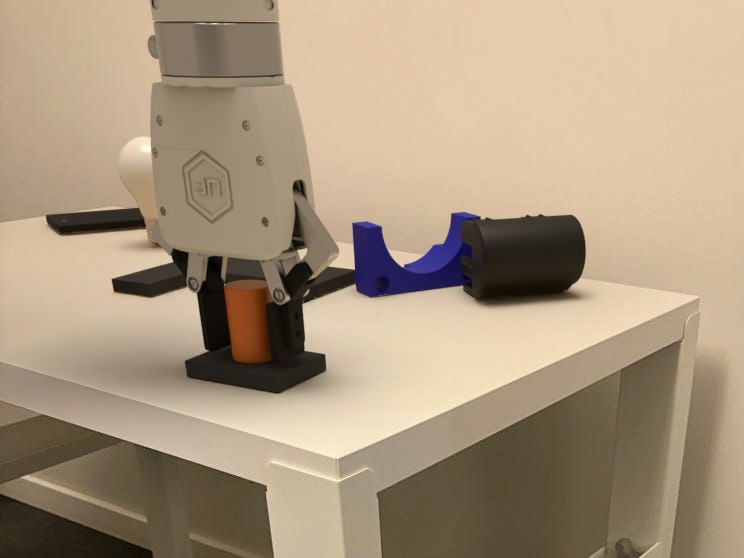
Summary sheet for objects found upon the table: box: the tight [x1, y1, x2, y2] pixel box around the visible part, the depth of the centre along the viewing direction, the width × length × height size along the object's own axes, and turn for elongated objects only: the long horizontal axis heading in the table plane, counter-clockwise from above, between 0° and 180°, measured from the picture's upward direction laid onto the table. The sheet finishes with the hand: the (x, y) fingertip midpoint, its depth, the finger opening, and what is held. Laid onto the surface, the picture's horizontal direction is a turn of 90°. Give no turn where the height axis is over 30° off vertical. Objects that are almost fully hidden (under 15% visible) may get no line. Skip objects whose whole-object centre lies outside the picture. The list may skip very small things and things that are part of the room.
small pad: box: [184, 280, 327, 394], centre depth 70 cm, size 8×6×6 cm
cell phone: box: [45, 207, 146, 234], centre depth 122 cm, size 9×18×1 cm, turn 121°
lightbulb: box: [117, 135, 161, 247], centre depth 107 cm, size 6×6×11 cm
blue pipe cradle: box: [351, 211, 482, 298], centre depth 94 cm, size 12×4×6 cm, turn 122°
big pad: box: [111, 257, 356, 303], centre depth 94 cm, size 18×14×1 cm
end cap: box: [460, 213, 587, 300], centre depth 90 cm, size 10×7×7 cm
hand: (254, 349), depth 70 cm, fingers open, 5 cm apart
